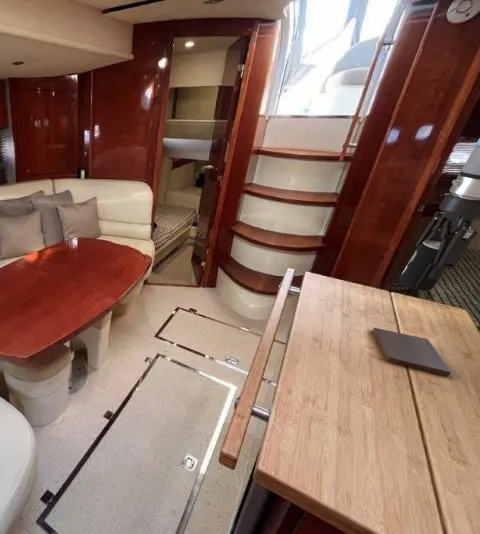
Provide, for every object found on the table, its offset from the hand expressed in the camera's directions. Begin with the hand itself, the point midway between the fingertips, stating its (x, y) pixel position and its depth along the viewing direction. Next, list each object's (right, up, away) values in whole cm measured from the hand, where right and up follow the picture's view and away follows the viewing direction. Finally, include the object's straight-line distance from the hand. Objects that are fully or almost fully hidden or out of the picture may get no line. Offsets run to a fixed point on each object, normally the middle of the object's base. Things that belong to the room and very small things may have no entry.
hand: (417, 280), depth 81 cm
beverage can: (0, -1, +1) cm, 2 cm away
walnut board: (+1, -20, +3) cm, 20 cm away
